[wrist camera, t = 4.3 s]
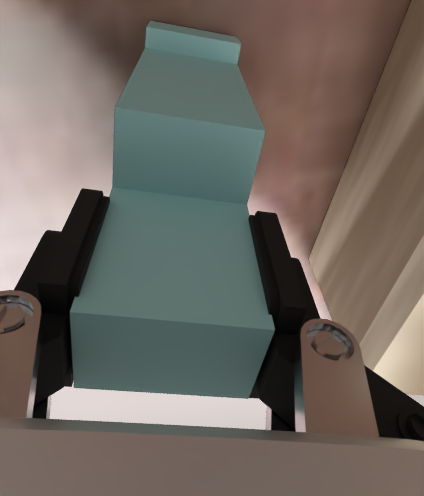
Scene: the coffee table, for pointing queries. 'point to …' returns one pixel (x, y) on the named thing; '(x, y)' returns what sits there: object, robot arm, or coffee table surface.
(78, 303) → the teal stepped block
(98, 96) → the coffee table surface
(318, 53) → the coffee table surface
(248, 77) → the coffee table surface
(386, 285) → the cream frame
